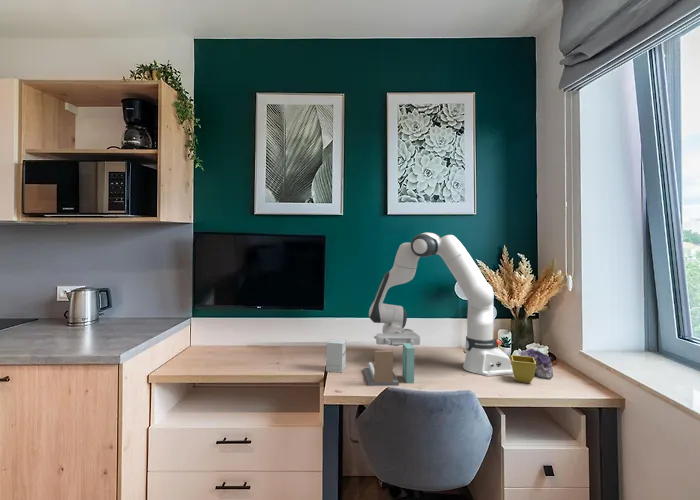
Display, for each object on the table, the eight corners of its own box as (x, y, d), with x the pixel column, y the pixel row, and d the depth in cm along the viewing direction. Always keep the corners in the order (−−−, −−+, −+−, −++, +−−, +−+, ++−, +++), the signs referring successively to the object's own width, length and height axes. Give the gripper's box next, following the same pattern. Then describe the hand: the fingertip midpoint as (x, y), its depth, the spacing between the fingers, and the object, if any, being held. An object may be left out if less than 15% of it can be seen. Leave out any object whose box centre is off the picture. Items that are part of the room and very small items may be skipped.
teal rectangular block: (409, 376, 163) (410, 343, 163) (414, 383, 155) (414, 348, 155) (402, 376, 162) (402, 343, 162) (406, 383, 155) (406, 348, 154)
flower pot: (535, 385, 153) (536, 363, 153) (512, 383, 156) (512, 360, 156) (533, 378, 162) (533, 357, 162) (510, 376, 165) (510, 354, 164)
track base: (390, 370, 170) (391, 340, 170) (398, 385, 152) (399, 351, 152) (363, 370, 169) (363, 340, 169) (368, 385, 151) (368, 352, 151)
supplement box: (342, 373, 166) (342, 343, 166) (325, 371, 168) (325, 342, 167) (345, 367, 173) (346, 339, 173) (329, 366, 175) (330, 338, 175)
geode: (564, 380, 160) (562, 356, 160) (536, 383, 161) (534, 359, 160) (541, 363, 181) (539, 342, 180) (516, 366, 181) (514, 345, 181)
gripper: (373, 329, 185) (377, 336, 171) (416, 329, 186) (423, 336, 172) (373, 342, 185) (377, 350, 171) (415, 342, 186) (423, 350, 172)
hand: (401, 343), depth 172 cm, fingers open, 8 cm apart
